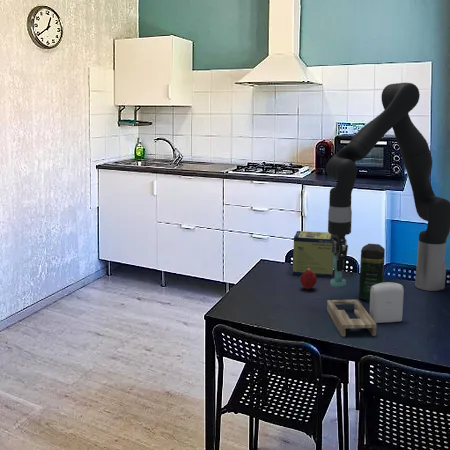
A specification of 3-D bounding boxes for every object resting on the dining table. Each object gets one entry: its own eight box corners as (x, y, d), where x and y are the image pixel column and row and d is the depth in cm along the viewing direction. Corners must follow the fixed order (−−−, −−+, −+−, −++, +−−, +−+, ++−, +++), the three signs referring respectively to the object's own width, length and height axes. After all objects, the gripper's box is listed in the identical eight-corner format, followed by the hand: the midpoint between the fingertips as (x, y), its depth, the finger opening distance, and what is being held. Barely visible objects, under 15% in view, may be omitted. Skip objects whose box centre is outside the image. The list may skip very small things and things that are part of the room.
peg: (343, 282, 188) (344, 254, 186) (347, 287, 183) (348, 258, 181) (328, 282, 188) (329, 254, 186) (332, 287, 183) (332, 259, 181)
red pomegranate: (317, 292, 195) (318, 270, 194) (301, 292, 196) (301, 270, 194) (315, 286, 201) (315, 265, 199) (299, 286, 201) (299, 265, 199)
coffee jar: (381, 303, 184) (384, 250, 180) (357, 300, 187) (359, 248, 183) (383, 293, 193) (386, 242, 189) (360, 291, 196) (362, 241, 192)
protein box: (332, 278, 210) (334, 238, 207) (292, 275, 214) (293, 236, 210) (334, 270, 220) (335, 232, 217) (295, 267, 224) (296, 230, 220)
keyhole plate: (357, 309, 179) (357, 299, 178) (375, 335, 160) (376, 324, 159) (327, 310, 179) (327, 300, 178) (341, 336, 159) (342, 325, 159)
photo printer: (371, 324, 168) (373, 286, 165) (366, 318, 172) (368, 281, 169) (404, 322, 169) (406, 284, 166) (398, 317, 173) (400, 279, 170)
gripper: (356, 223, 173) (355, 275, 177) (345, 214, 187) (344, 262, 191) (333, 224, 173) (332, 276, 177) (323, 214, 187) (323, 263, 191)
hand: (338, 268), depth 184 cm, fingers closed on peg, 3 cm apart
